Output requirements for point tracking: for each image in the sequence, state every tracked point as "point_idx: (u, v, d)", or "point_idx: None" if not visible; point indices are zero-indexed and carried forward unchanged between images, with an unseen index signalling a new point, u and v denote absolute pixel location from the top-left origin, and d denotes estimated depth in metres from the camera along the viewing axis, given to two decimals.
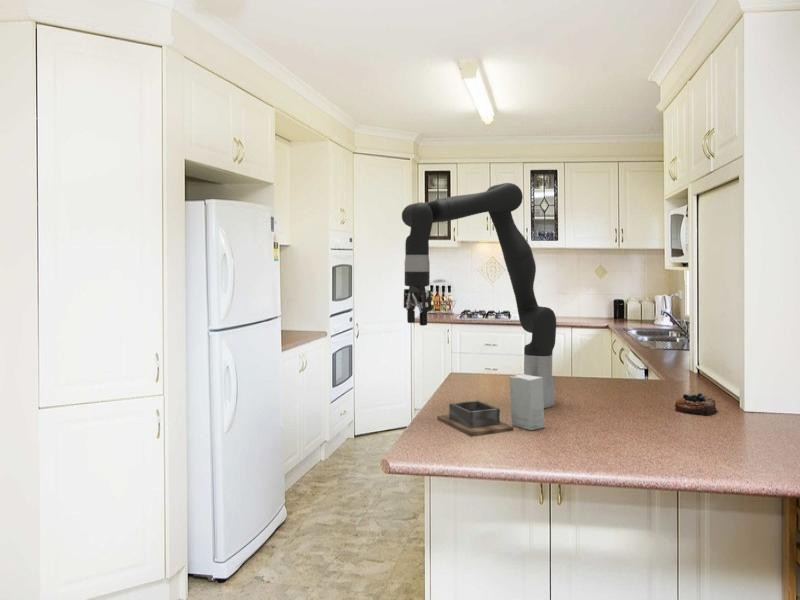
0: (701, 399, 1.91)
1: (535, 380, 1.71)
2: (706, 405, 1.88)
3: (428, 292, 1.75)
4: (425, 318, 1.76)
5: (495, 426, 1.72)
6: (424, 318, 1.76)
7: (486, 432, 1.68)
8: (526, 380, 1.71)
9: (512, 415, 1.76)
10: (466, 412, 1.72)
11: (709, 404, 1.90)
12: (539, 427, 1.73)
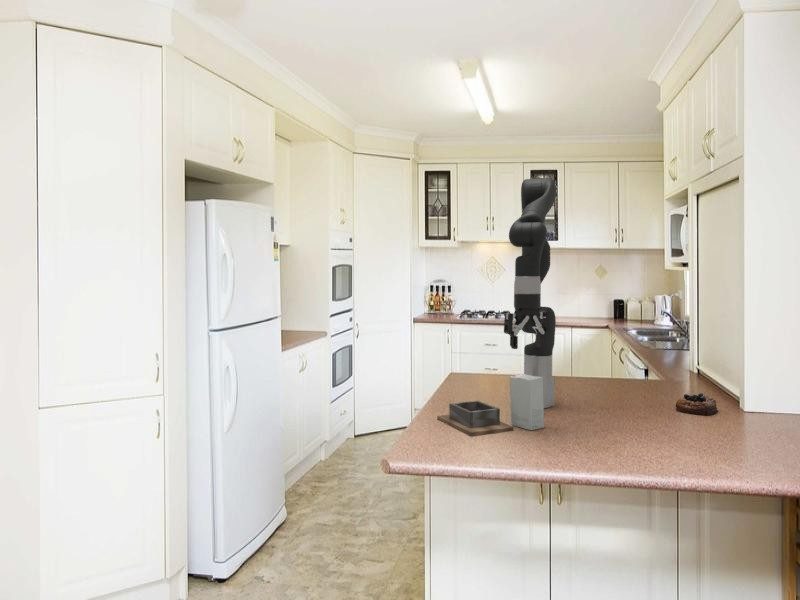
0: (702, 399, 1.91)
1: (535, 380, 1.71)
2: (707, 405, 1.88)
3: None
4: None
5: (495, 426, 1.72)
6: None
7: (486, 432, 1.68)
8: (526, 380, 1.71)
9: (512, 415, 1.76)
10: (466, 412, 1.72)
11: (710, 404, 1.89)
12: (539, 427, 1.73)
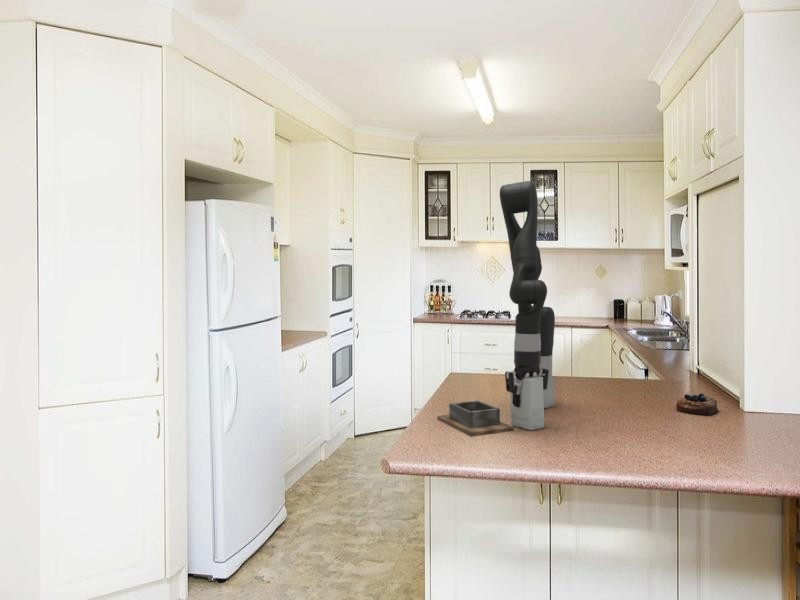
0: (702, 399, 1.91)
1: (536, 380, 1.71)
2: (707, 405, 1.88)
3: None
4: None
5: (495, 426, 1.72)
6: None
7: (486, 432, 1.68)
8: (526, 380, 1.71)
9: (512, 415, 1.76)
10: (466, 412, 1.72)
11: (710, 404, 1.89)
12: (539, 427, 1.73)
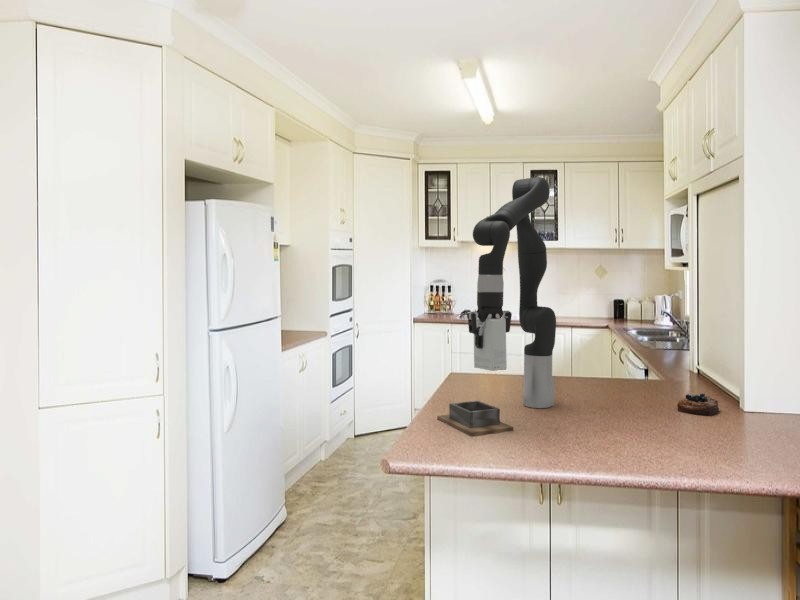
0: (703, 399, 1.91)
1: (498, 321, 1.71)
2: (708, 405, 1.88)
3: None
4: None
5: (495, 426, 1.72)
6: None
7: (486, 432, 1.68)
8: (489, 320, 1.71)
9: (475, 357, 1.76)
10: (466, 412, 1.72)
11: (711, 404, 1.89)
12: (501, 368, 1.73)
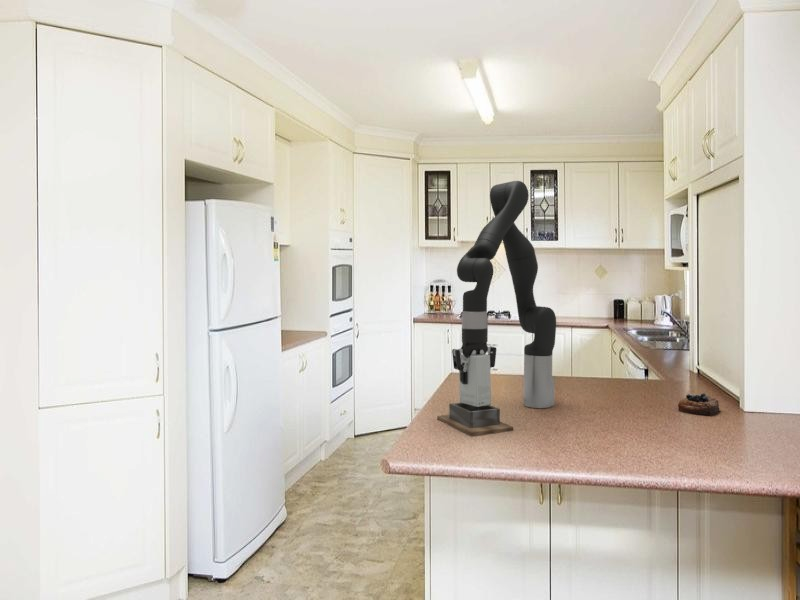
0: (704, 399, 1.91)
1: (482, 357, 1.73)
2: (709, 405, 1.88)
3: None
4: None
5: (495, 426, 1.72)
6: None
7: (486, 432, 1.68)
8: (473, 357, 1.73)
9: (461, 392, 1.78)
10: (466, 412, 1.72)
11: (712, 404, 1.89)
12: (486, 404, 1.74)
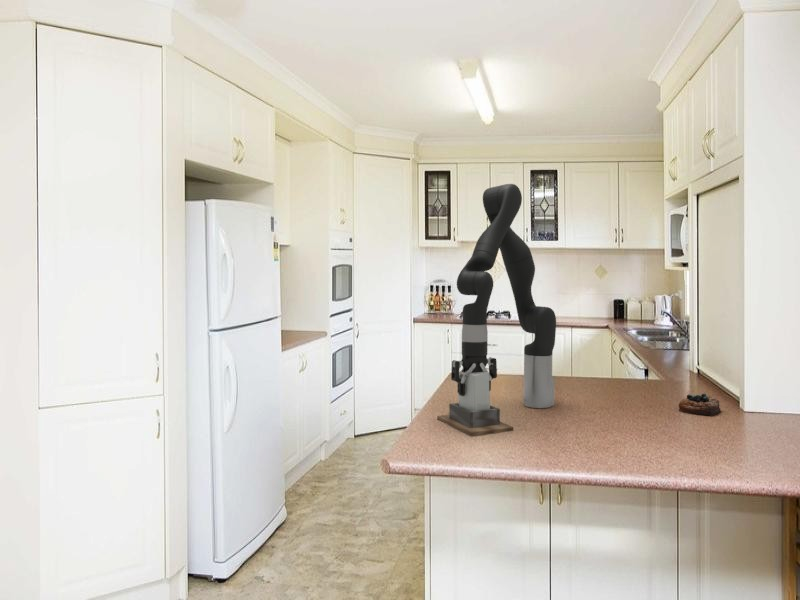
0: (705, 399, 1.91)
1: (481, 375, 1.73)
2: (710, 405, 1.88)
3: None
4: None
5: (495, 426, 1.72)
6: None
7: (486, 432, 1.68)
8: (471, 375, 1.73)
9: None
10: (466, 412, 1.72)
11: (713, 404, 1.89)
12: None
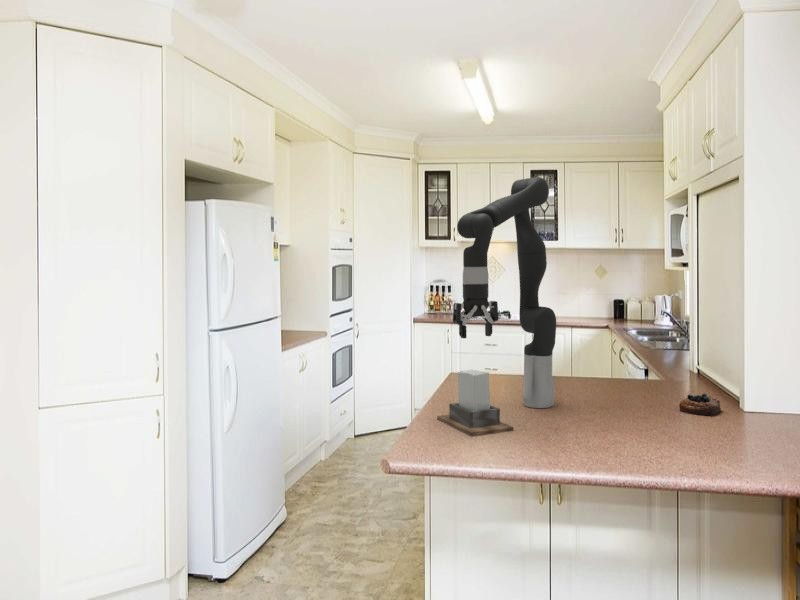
0: (705, 400, 1.90)
1: (481, 375, 1.73)
2: (710, 406, 1.88)
3: None
4: None
5: (495, 426, 1.72)
6: None
7: (486, 432, 1.68)
8: (471, 375, 1.73)
9: None
10: (466, 412, 1.72)
11: (713, 405, 1.89)
12: None
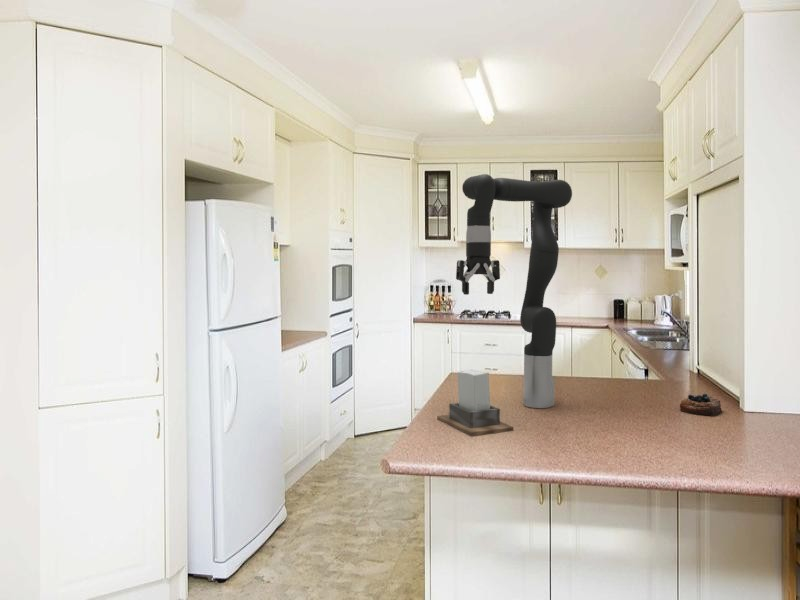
0: (706, 400, 1.90)
1: (481, 375, 1.73)
2: (711, 406, 1.87)
3: None
4: None
5: (495, 426, 1.72)
6: None
7: (486, 432, 1.68)
8: (471, 375, 1.73)
9: None
10: (466, 412, 1.72)
11: (714, 405, 1.89)
12: None
